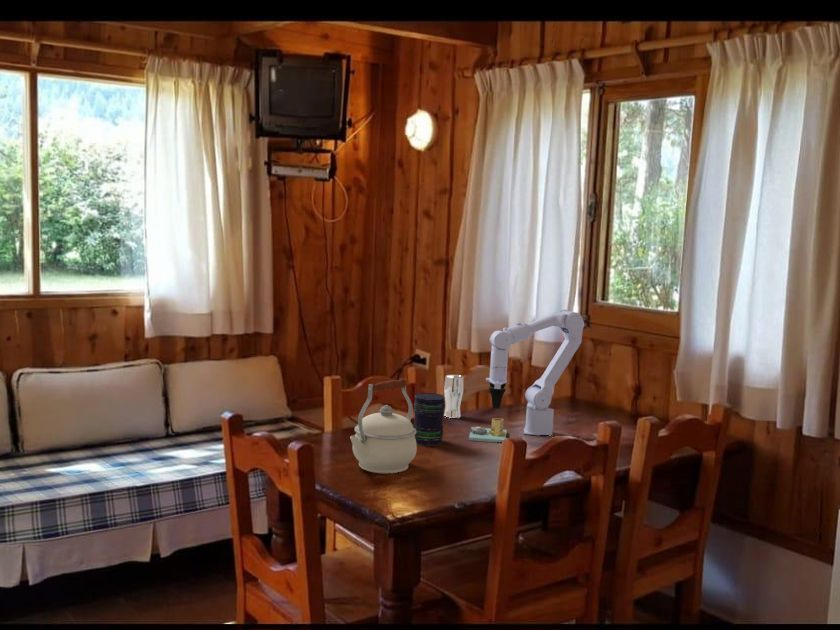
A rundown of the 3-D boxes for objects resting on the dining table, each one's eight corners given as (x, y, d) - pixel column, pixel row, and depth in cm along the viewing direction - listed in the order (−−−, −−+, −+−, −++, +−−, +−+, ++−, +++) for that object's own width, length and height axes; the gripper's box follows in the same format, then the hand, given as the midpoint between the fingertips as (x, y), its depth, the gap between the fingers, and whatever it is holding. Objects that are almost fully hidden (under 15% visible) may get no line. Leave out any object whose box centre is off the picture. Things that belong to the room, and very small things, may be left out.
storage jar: (422, 435, 272) (424, 391, 270) (448, 441, 267) (450, 396, 266) (406, 442, 264) (408, 396, 262) (432, 447, 259) (435, 400, 257)
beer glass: (462, 415, 304) (464, 375, 303) (461, 419, 298) (463, 378, 296) (443, 413, 305) (445, 374, 303) (441, 418, 298) (444, 377, 297)
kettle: (385, 452, 250) (389, 371, 248) (432, 466, 239) (437, 381, 236) (325, 468, 231) (329, 381, 228) (374, 484, 220) (378, 392, 217)
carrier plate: (506, 432, 282) (507, 421, 282) (505, 443, 268) (506, 431, 268) (471, 429, 284) (472, 418, 283) (468, 440, 270) (469, 428, 269)
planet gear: (505, 432, 278) (505, 418, 277) (504, 436, 273) (505, 422, 272) (489, 431, 279) (489, 417, 278) (488, 435, 273) (489, 420, 273)
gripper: (487, 362, 286) (484, 400, 288) (486, 369, 272) (483, 409, 273) (507, 363, 285) (505, 402, 287) (507, 370, 271) (505, 411, 273)
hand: (496, 405), depth 280 cm, fingers open, 7 cm apart
